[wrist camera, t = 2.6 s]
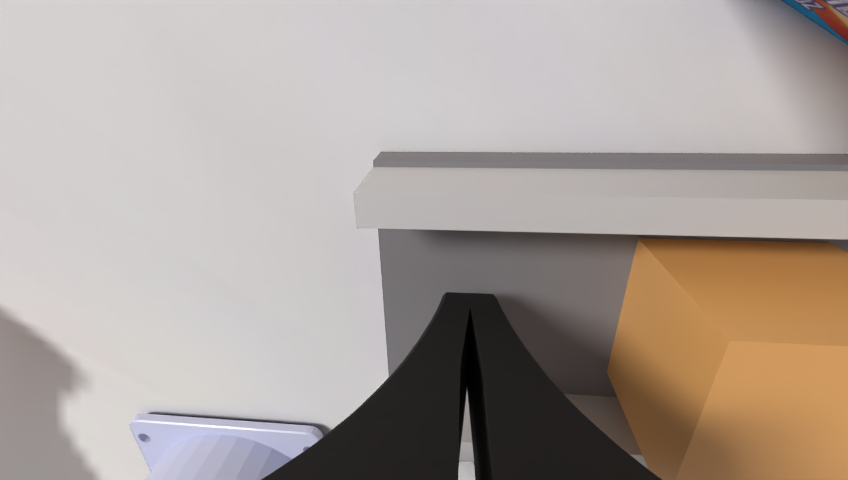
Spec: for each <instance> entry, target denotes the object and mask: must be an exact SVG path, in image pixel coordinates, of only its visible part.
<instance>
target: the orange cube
mask: <svg viewBox="0 0 848 480" xmlns="http://www.w3.org/2000/svg"><path fill="white" fill-rule="evenodd" d="M607 374H608V376H609V379H610V381H611V383H612V386H613V388H614V390H615V393H616V395H617V397H618V400H619V402H620V404H621V407H622V409H623V411H624V413H625V416H626V418H627V420H628V423H629V425H630V427H631V430H632V432H633V434H634V437H635V439H636V441H637V444H638V446H639V448H640V451H641V453H642V455H643V458H644V460H645V462H646V465H647V467H648V469H649V470H650V471H651V472H653V473H654V474H655V475H657V476H658V477H659V478H661V479H662V480H848V252H846V251H844V250H842V249H840V248H839V247H837V246H835V245H833V244H831V243H812V242H771V241H730V240H688V239H647V238H638V241H637V245H636V249H635V253H634V258H633V262H632V266H631V271H630V275H629V279H628V283H627V288H626V292H625V296H624V300H623V305H622V309H621V313H620V317H619V322H618V326H617V330H616V334H615V339H614V343H613V347H612V352H611V356H610V360H609V364H608V369H607Z"/></svg>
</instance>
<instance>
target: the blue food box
mask: <svg viewBox="0 0 848 480" xmlns="http://www.w3.org/2000/svg"><path fill="white" fill-rule="evenodd" d="M782 1H783V2H785V3H786V4H788V5H789V6H791V7H792V8H794V9H795V10H797V11H798V12H800V13H802V14H803V15H805V16H806V17H808V18H809V19H811V20H812V21H814V22H815V23H817V24H818V25H820V26H821V27H823V28H824V29H826V30H827V31H829V32H830V33H832V34H833V35H835V36H836V37H838V38H839V39H841V40H842V41H844V42H845V43H847V44H848V0H782Z"/></svg>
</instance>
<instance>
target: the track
mask: <svg viewBox="0 0 848 480" xmlns="http://www.w3.org/2000/svg"><path fill="white" fill-rule="evenodd" d="M373 165H374V167H373V169H372V170H371V171H370V172H369V174H368V175H367V176H366V177H365V179H364V180H363V181H362V183H361V184H360V185H359V186H358V188H357V189H356V190H355V191H354V203H355V213H356V224H357V228H378V233H379V247H380V260H381V274H382V288H383V301H384V315H385V329H386V342H387V356H388V370H389V377H390V376H391V374H392V373H393V372H394V371H395V370H396V369H397V367H398V366H399V365H400V364H401V363H402V361H403V360H404V359H405V358H406V356H407V355H408V354H409V352H410V351H411V350H412V348H413V347H414V345H415V344H416V343H417V341H418V340H419V339H420V337H421V335H422V334H423V332H424V331H425V329H426V328H427V326H428V324H429V323H430V321H431V319H432V318H433V316H434V314H435V312H436V310H437V308H438V306H439V304H440V302H441V299H442V296H443V295H444V294H445V293H446V292H457V293H483V294H493V295H494V296H495V297H496V298H497V300H498V302H499V304H500V306H501V308H502V310H503V312H504V314H505V316H506V317H507V319H508V321H509V323H510V324H511V326H512V328H513V329H514V331H515V332H516V334H517V335H518V337H519V338H520V340H521V341H522V343H523V344H524V346H525V347H526V348H527V350H528V351H529V353H530V354H531V355H532V357H533V358H534V359H535V361H536V362H537V363H538V364H539V366H540V367H541V368H542V370H543V371H544V372H545V373H546V374H547V376H548V377H549V378H550V379H551V380H552V382H553V383H554V384H555V385H556V386H557V387H558V388H559V389H560V390H561V392H562V393H563V394H564V395H565V396H566V397H567V398H568V399H569V400H570V401H571V402H572V403H573V404H574V405H575V406H576V407H577V408H578V409H579V410H580V411H581V412H582V413H583V414H584V415H585V416H586V417H587V418H588V419H589V420H590V421H591V422H593V423H594V424H595V425H596V426H597V427H598V428H599V429H600V430H601V431H603V432H604V433H605V434H606V435H607V436H608V437H609V438H610V439H611V440H613V441H614V442H615V443H616V444H617V445H618V446H620V447H621V448H622V449H623V450H625V451H626V452H627V453H628V454H630V455H631V456H632V457H633V458H635V459H636V460H637V461H638V462H640V463H641V464H642V465H644V466H645V467H646V468H647V469H648V467H647V465H646V462H645V460H644V458H643V455H642V453H641V451H640V448H639V446H638V444H637V441H636V439H635V437H634V434H633V432H632V430H631V427H630V425H629V423H628V420H627V418H626V416H625V413H624V411H623V409H622V407H621V404H620V402H619V400H618V397H617V395H616V393H615V390H614V388H613V386H612V383H611V381H610V379H609V376H608V374H607V369H608V364H609V360H610V356H611V352H612V347H613V343H614V339H615V334H616V330H617V326H618V322H619V317H620V313H621V309H622V305H623V300H624V296H625V292H626V288H627V283H628V279H629V275H630V271H631V266H632V262H633V258H634V253H635V249H636V245H637V241H638V238H647V239H688V240H730V241H771V242H812V243H831V244H833V245H835V246H837V247H839V248H840V249H842V250H844V251H846V252H848V154H704V153H505V152H380V154H379V155H378V156H377V157H376V158H375V160H374V161H373ZM459 461H468V462H474V455H473V445H472V434H471V424H470V414H469V403H468V392H467V393H466V402H465V412H464V421H463V430H462V439H461V448H460V458H459Z"/></svg>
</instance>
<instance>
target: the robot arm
mask: <svg viewBox="0 0 848 480" xmlns="http://www.w3.org/2000/svg"><path fill="white" fill-rule="evenodd" d="M467 392H468V403H469V414H470V424H471V434H472V445H473V455H474V465H475V480H662V479H661V478H659V477H658V476H657V475H655V474H654V473H653V472H651V471H650V470H649V469H647V468H646V467H645V466H644V465H642V464H641V463H640V462H638V461H637V460H636V459H635V458H633V457H632V456H631V455H630V454H628V453H627V452H626V451H625V450H623V449H622V448H621V447H620V446H618V445H617V444H616V443H615V442H614V441H613V440H611V439H610V438H609V437H608V436H607V435H606V434H605V433H604V432H603V431H601V430H600V429H599V428H598V427H597V426H596V425H595V424H594V423H593V422H591V421H590V420H589V419H588V418H587V417H586V416H585V415H584V414H583V413H582V412H581V411H580V410H579V409H578V408H577V407H576V406H575V405H574V404H573V403H572V402H571V401H570V400H569V399H568V398H567V397H566V396H565V395H564V394H563V393H562V392H561V390H560V389H559V388H558V387H557V386H556V385H555V384H554V383H553V382H552V380H551V379H550V378H549V377H548V376H547V374H546V373H545V372H544V371H543V370H542V368H541V367H540V366H539V364H538V363H537V362H536V361H535V359H534V358H533V357H532V355H531V354H530V353H529V351H528V350H527V348H526V347H525V346H524V344H523V343H522V341H521V340H520V338H519V337H518V335H517V334H516V332H515V331H514V329H513V328H512V326H511V324H510V323H509V321H508V319H507V317H506V316H505V314H504V312H503V310H502V308H501V306H500V304H499V302H498V300H497V298H496V297H495V296H494V295H493V294H483V293H457V292H446V293H445V294H444V295H443V296H442V299H441V302H440V304H439V306H438V308H437V310H436V312H435V314H434V316H433V318H432V319H431V321H430V323H429V324H428V326H427V328H426V329H425V331H424V332H423V334H422V335H421V337H420V339H419V340H418V341H417V343H416V344H415V345H414V347H413V348H412V350H411V351H410V352H409V354H408V355H407V356H406V358H405V359H404V360H403V361H402V363H401V364H400V365H399V366H398V367H397V369H396V370H395V371H394V372H393V373H392V374H391V376H390V377H389V378H388V379H387V380H386V381H385V382H384V383H383V384H382V385H381V386H380V387H379V388H378V389H377V390H376V391H375V392H374V393H373V394H372V395H371V396H370V397H369V398H368V399H367V400H366V401H365V402H364V403H363V404H362V405H361V406H360V407H359V408H358V409H357V410H355V411H354V412H353V413H352V414H351V415H350V416H349V417H347V418H346V419H345V420H344V421H342V422H341V423H340V424H339V425H337V426H336V427H335V428H334V429H333V430H331V431H330V432H329V433H328V434H326V435H325V436H324V437H323V434H322V432H321V431H320V430H319V429H318V428H316V427H314V426H309V425H295V424H281V423H267V422H253V421H240V420H226V419H212V418H198V417H184V416H171V415H157V414H138V415H136V416H135V417H134V418H133V420H132V421H131V422H130V424H129V425H130V429H131V431H132V434H133V436H134V438H135V440H136V442H137V444H138V446H139V448H140V450H141V452H142V455H143V457H144V459H145V461H146V463H147V465H148V467H149V469H150V471H151V472H150V474H149V475H148V476H147V478H146V479H145V480H458V467H459V458H460V448H461V439H462V430H463V421H464V412H465V402H466V393H467Z"/></svg>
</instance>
